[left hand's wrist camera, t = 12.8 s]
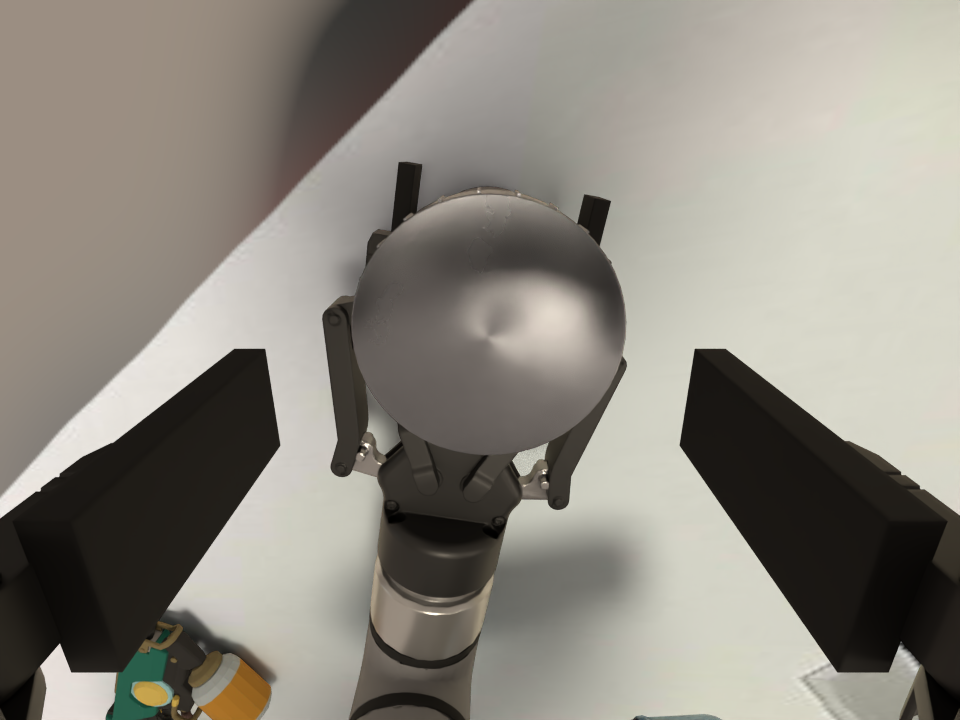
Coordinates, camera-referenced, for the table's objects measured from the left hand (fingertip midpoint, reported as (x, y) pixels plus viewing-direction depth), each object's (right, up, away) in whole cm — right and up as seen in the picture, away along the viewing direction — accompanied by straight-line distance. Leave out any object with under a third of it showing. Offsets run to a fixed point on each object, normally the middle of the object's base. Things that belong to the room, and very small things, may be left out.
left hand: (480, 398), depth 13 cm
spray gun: (-26, -28, +33) cm, 50 cm away
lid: (0, +2, +5) cm, 5 cm away
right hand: (+1, +9, +11) cm, 15 cm away
